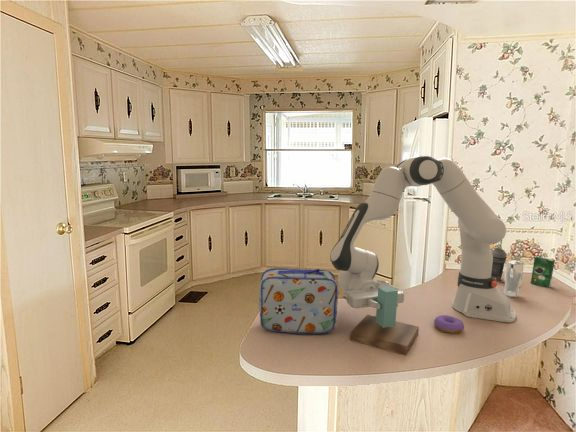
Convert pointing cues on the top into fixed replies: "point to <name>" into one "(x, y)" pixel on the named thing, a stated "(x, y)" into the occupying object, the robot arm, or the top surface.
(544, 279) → the coffee box
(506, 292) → the beer glass
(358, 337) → the walnut riser
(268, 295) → the lunch box
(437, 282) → the top surface
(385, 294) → the teal block
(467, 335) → the top surface
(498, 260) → the beverage cup
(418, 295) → the top surface
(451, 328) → the donut
